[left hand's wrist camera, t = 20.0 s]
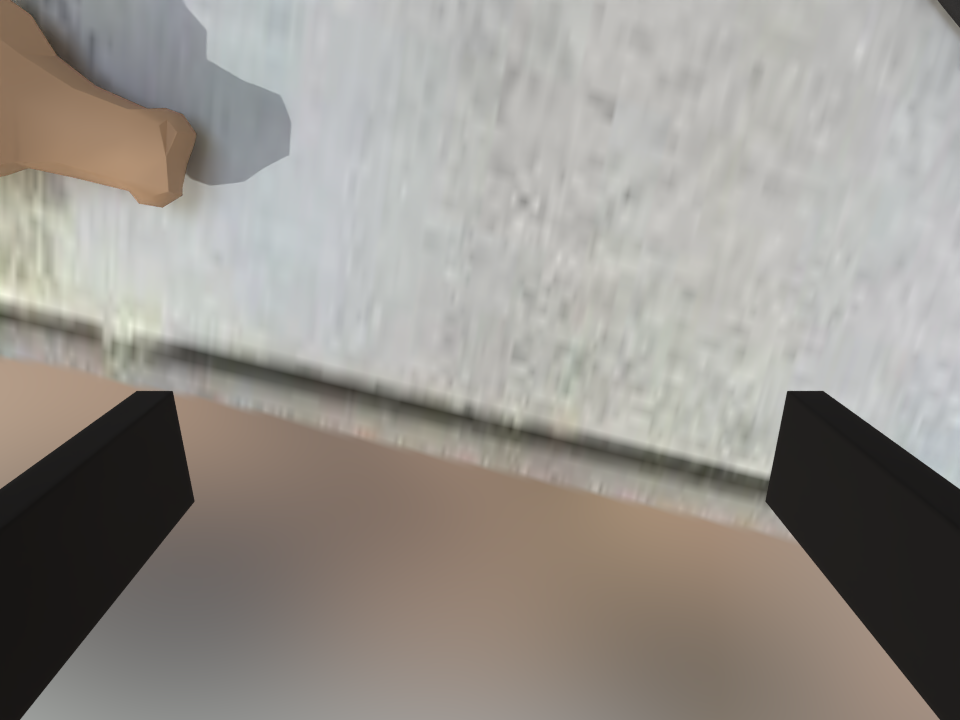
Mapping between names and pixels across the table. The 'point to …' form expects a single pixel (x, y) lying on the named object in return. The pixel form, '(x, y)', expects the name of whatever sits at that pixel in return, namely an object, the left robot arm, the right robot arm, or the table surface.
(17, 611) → the left robot arm
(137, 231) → the table surface
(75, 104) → the squash
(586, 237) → the table surface
